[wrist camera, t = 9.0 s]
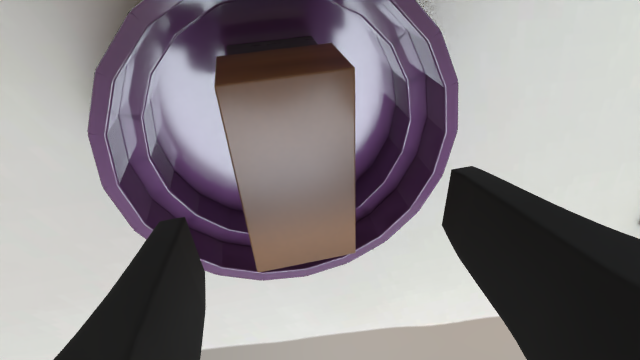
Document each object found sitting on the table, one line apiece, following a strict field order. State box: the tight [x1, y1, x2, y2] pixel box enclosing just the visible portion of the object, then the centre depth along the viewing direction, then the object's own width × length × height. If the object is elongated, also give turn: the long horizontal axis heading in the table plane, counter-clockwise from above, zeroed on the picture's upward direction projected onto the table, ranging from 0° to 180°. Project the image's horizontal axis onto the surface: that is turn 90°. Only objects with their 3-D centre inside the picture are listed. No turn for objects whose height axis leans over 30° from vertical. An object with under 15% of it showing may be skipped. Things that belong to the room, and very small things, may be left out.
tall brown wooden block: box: [214, 36, 356, 272], centre depth 15 cm, size 8×4×6 cm, turn 4°
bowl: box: [87, 0, 458, 280], centre depth 16 cm, size 14×14×4 cm
